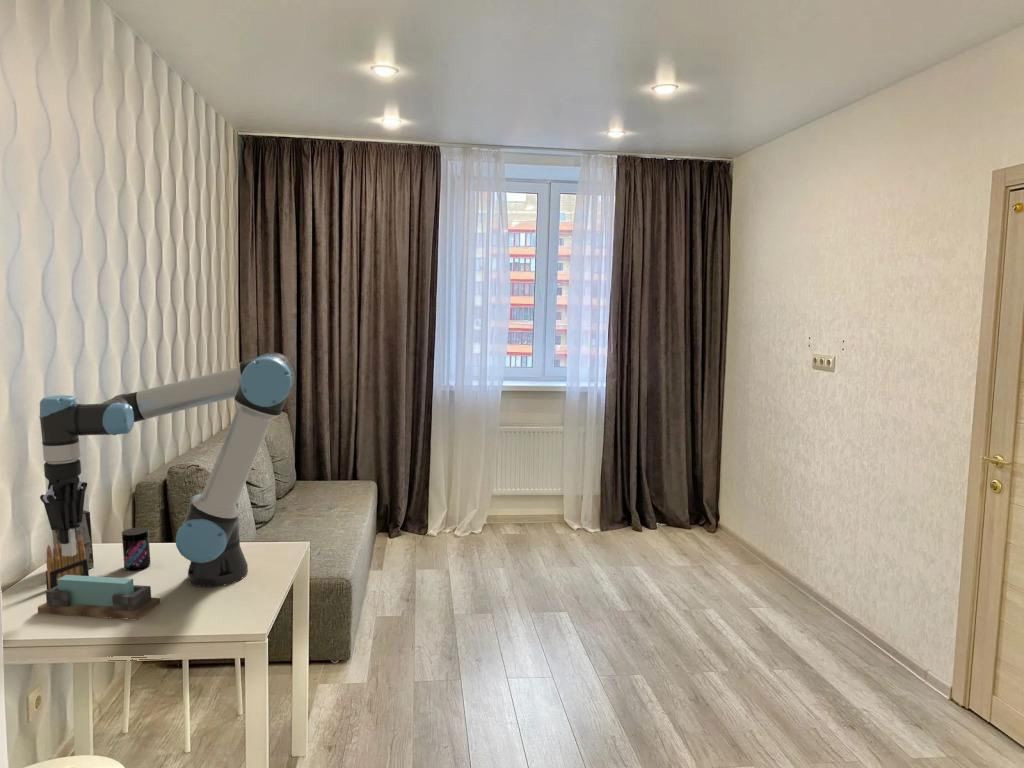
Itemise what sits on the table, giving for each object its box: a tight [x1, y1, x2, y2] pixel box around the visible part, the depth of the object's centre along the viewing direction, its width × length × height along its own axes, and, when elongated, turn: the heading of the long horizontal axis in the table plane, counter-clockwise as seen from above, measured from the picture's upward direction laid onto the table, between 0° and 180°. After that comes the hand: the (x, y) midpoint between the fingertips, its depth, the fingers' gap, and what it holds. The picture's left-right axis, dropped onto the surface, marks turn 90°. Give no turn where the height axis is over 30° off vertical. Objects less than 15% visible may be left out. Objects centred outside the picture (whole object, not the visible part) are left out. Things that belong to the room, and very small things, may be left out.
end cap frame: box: [37, 584, 161, 620], centre depth 180 cm, size 26×9×5 cm, turn 82°
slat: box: [57, 575, 135, 607], centre depth 180 cm, size 18×3×6 cm, turn 82°
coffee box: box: [51, 509, 95, 570], centre depth 205 cm, size 9×6×16 cm
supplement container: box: [121, 527, 151, 572], centre depth 206 cm, size 7×7×10 cm
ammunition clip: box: [45, 535, 90, 591], centre depth 195 cm, size 11×2×12 cm, turn 157°
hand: (69, 554), depth 180 cm, fingers closed
